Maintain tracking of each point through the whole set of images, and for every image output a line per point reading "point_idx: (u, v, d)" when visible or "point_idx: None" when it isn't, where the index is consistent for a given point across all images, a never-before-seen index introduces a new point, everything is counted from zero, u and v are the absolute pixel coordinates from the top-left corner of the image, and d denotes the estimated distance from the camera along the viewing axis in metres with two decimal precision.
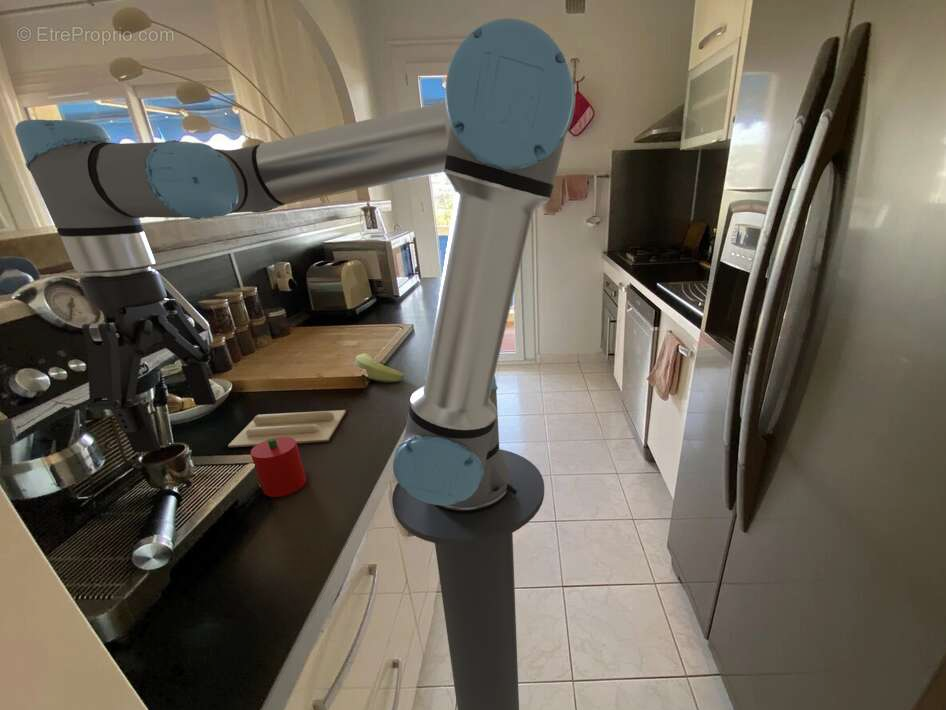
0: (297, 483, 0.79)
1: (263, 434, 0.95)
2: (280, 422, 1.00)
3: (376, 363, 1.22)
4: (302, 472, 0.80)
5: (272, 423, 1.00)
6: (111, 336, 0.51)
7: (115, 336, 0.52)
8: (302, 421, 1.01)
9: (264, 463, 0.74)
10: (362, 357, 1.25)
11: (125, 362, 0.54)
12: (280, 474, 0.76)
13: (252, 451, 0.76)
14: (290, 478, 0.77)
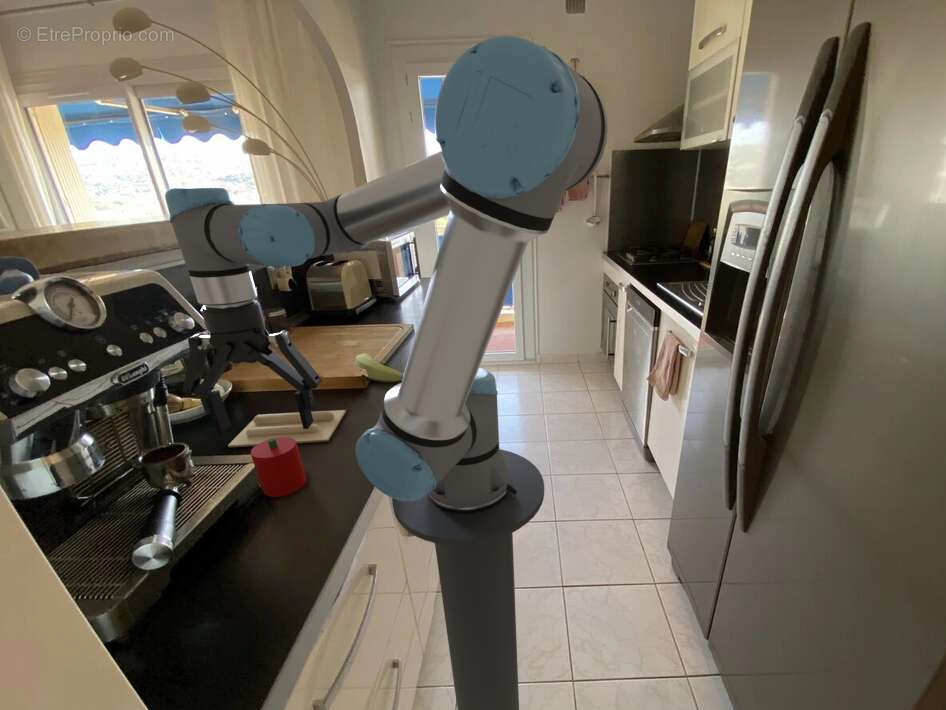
0: (297, 483, 0.79)
1: (263, 434, 0.95)
2: (280, 422, 1.00)
3: (376, 363, 1.22)
4: (302, 472, 0.80)
5: (272, 423, 1.00)
6: (192, 346, 0.67)
7: (197, 347, 0.67)
8: None
9: (264, 463, 0.74)
10: (362, 357, 1.25)
11: None
12: (280, 474, 0.76)
13: (252, 451, 0.76)
14: (290, 478, 0.77)
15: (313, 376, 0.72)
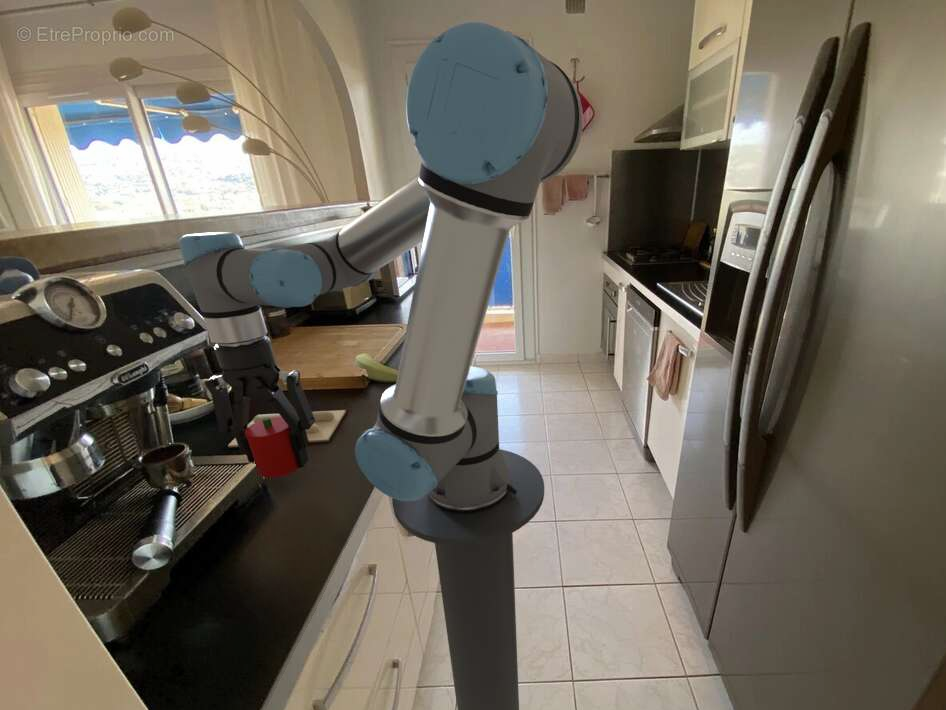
0: (293, 464, 0.77)
1: None
2: None
3: (376, 363, 1.22)
4: None
5: None
6: (211, 389, 0.70)
7: (215, 388, 0.70)
8: None
9: (259, 442, 0.72)
10: (362, 357, 1.25)
11: None
12: (275, 454, 0.74)
13: (246, 431, 0.74)
14: (286, 458, 0.75)
15: (309, 418, 0.75)
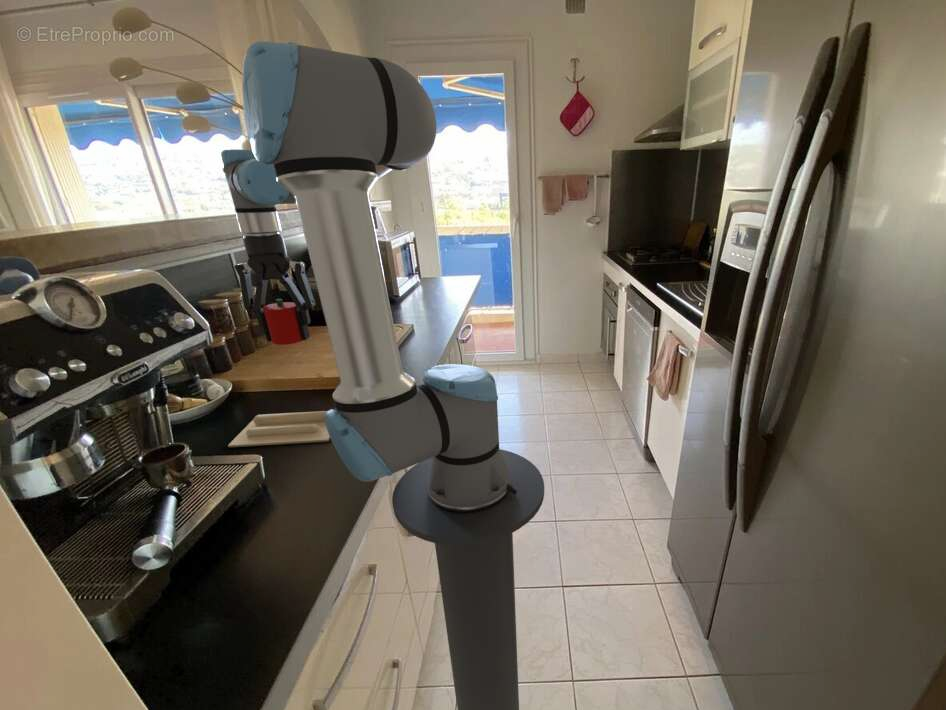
0: (298, 336, 1.02)
1: (263, 434, 0.95)
2: (280, 422, 1.00)
3: None
4: None
5: (272, 423, 1.00)
6: (239, 271, 0.95)
7: (242, 271, 0.95)
8: (302, 421, 1.01)
9: (273, 314, 0.97)
10: None
11: None
12: (285, 325, 0.99)
13: (264, 307, 0.99)
14: (293, 330, 1.00)
15: (311, 299, 1.00)
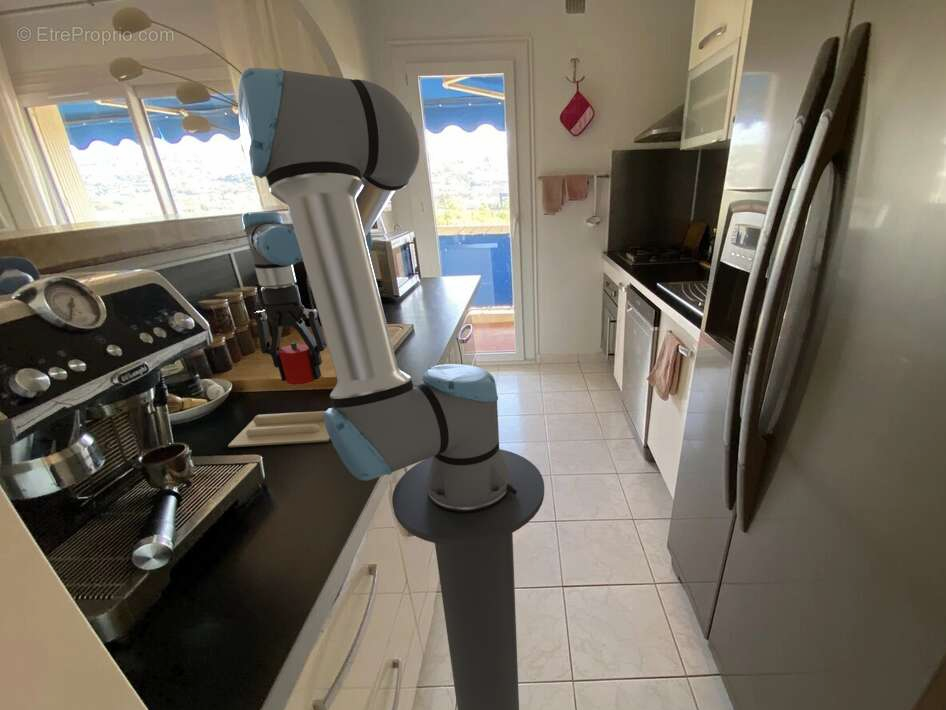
0: (311, 376, 1.10)
1: (263, 434, 0.95)
2: (280, 422, 1.00)
3: None
4: None
5: (272, 423, 1.00)
6: (257, 319, 1.03)
7: (259, 319, 1.03)
8: (302, 421, 1.01)
9: (288, 357, 1.05)
10: None
11: None
12: (299, 366, 1.07)
13: (279, 350, 1.07)
14: (306, 371, 1.08)
15: (323, 343, 1.08)
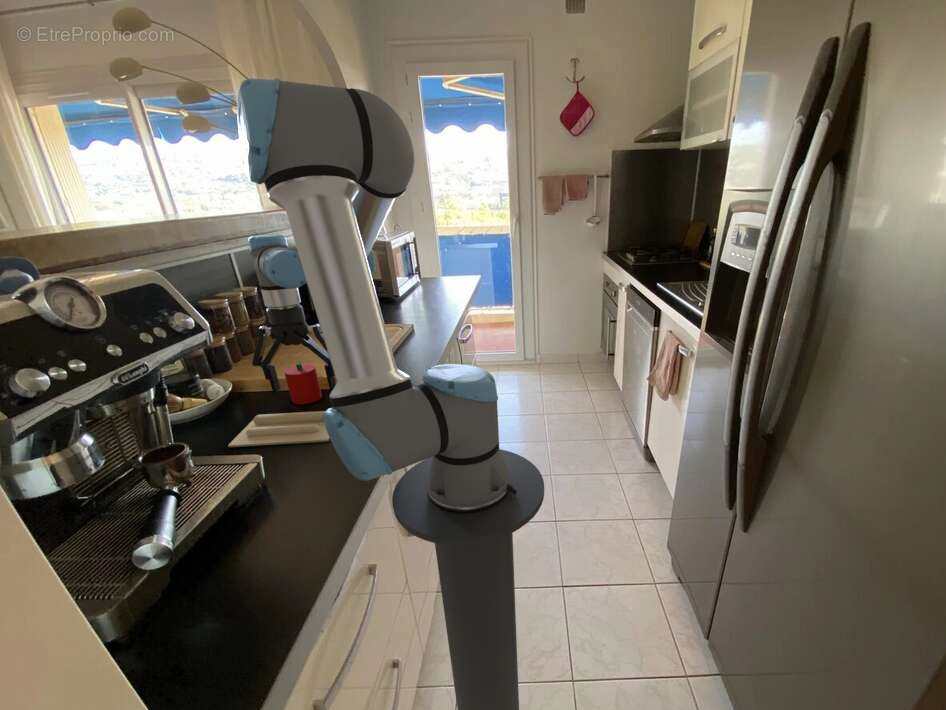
0: (316, 396, 1.12)
1: (263, 434, 0.95)
2: (280, 422, 1.00)
3: None
4: (319, 389, 1.13)
5: (272, 423, 1.00)
6: (260, 334, 1.04)
7: (262, 335, 1.05)
8: (302, 421, 1.01)
9: (294, 378, 1.08)
10: None
11: (271, 348, 1.07)
12: (304, 387, 1.09)
13: (285, 371, 1.09)
14: (311, 391, 1.10)
15: None
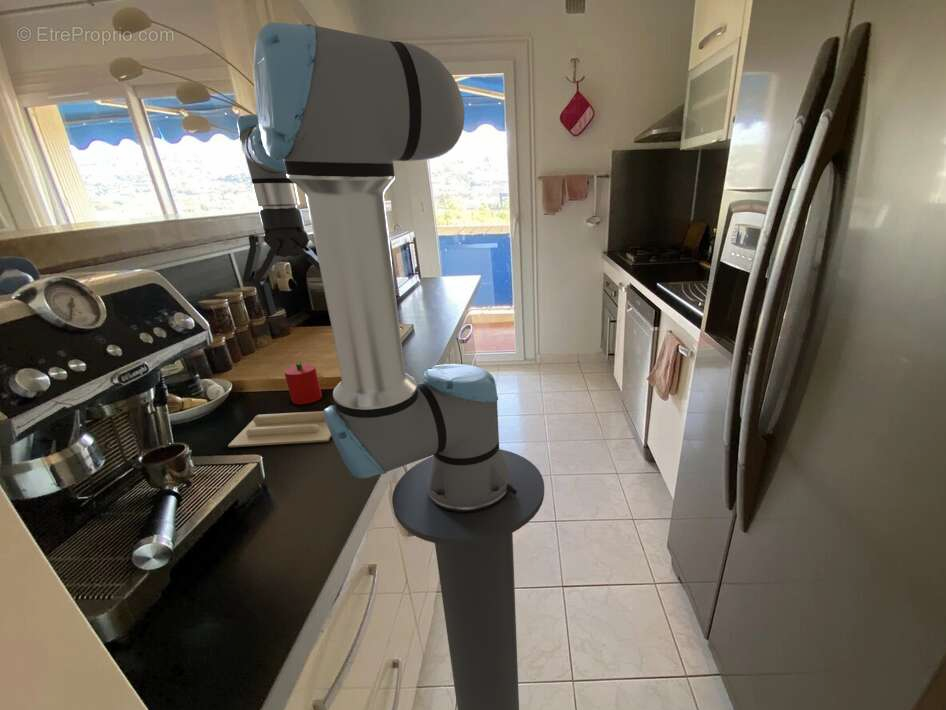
0: (316, 396, 1.12)
1: (263, 434, 0.95)
2: (280, 422, 1.00)
3: None
4: (319, 389, 1.13)
5: (272, 423, 1.00)
6: (251, 242, 0.90)
7: (255, 243, 0.90)
8: (302, 421, 1.01)
9: (294, 378, 1.08)
10: None
11: None
12: (304, 387, 1.09)
13: (285, 371, 1.09)
14: (311, 391, 1.10)
15: None
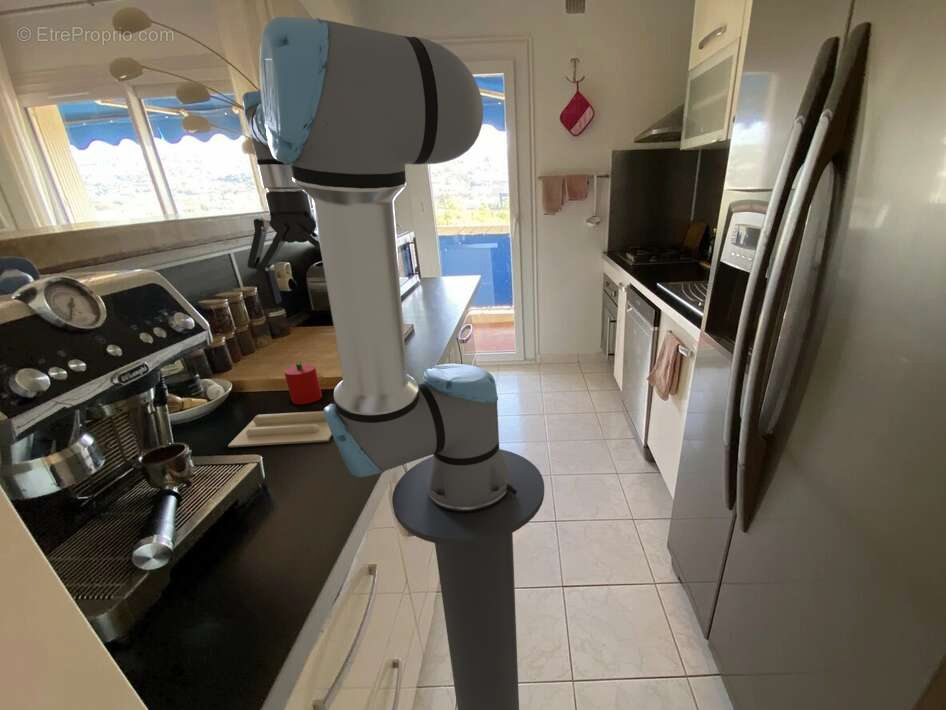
0: (316, 396, 1.12)
1: (263, 434, 0.95)
2: (280, 422, 1.00)
3: None
4: (319, 389, 1.13)
5: (272, 423, 1.00)
6: (257, 227, 0.86)
7: (260, 228, 0.86)
8: (302, 421, 1.01)
9: (294, 378, 1.08)
10: None
11: None
12: (304, 387, 1.09)
13: (285, 371, 1.09)
14: (311, 391, 1.10)
15: None
